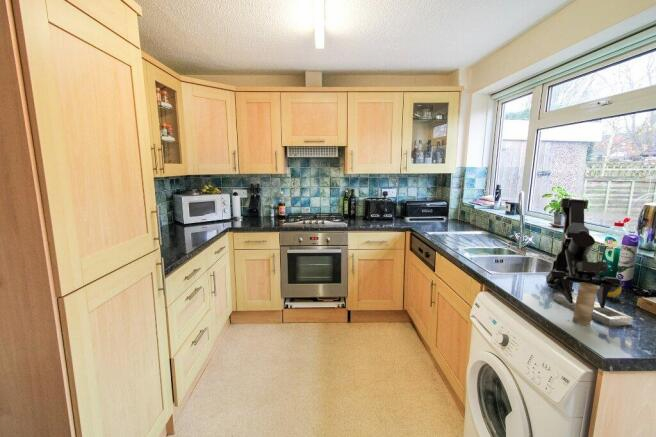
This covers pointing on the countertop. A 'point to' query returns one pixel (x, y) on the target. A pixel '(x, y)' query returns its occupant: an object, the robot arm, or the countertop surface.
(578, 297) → the peg
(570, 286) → the robot arm
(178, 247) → the countertop surface
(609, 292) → the lemon
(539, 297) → the countertop surface
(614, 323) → the beige slotted board
